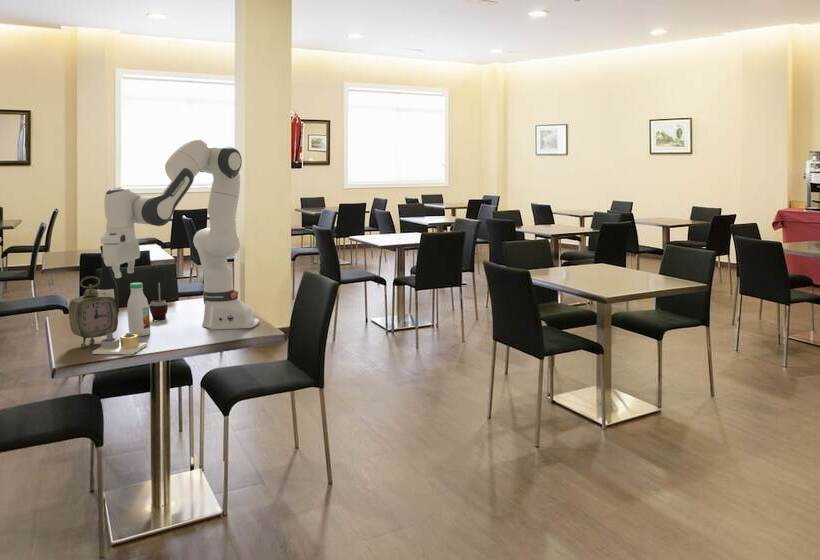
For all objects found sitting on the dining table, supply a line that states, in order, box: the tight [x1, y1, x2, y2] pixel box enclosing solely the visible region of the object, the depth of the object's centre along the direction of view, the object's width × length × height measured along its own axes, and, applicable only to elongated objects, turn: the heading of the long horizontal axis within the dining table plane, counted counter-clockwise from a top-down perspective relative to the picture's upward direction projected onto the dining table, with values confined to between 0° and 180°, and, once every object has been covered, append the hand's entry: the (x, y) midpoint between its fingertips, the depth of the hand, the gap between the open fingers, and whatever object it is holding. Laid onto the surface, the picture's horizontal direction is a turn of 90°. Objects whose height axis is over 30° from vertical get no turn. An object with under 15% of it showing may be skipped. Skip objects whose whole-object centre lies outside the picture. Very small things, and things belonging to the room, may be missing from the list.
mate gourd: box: [149, 282, 169, 322], centre depth 294 cm, size 8×8×15 cm
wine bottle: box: [96, 245, 120, 313], centre depth 305 cm, size 8×8×30 cm
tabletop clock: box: [68, 275, 119, 349], centre depth 253 cm, size 14×9×25 cm, turn 138°
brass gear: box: [119, 334, 140, 349], centre depth 246 cm, size 5×5×4 cm
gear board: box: [92, 332, 148, 355], centre depth 246 cm, size 14×12×6 cm
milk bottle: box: [126, 282, 151, 337], centre depth 268 cm, size 8×8×20 cm
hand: (124, 275), depth 242 cm, fingers open, 8 cm apart
